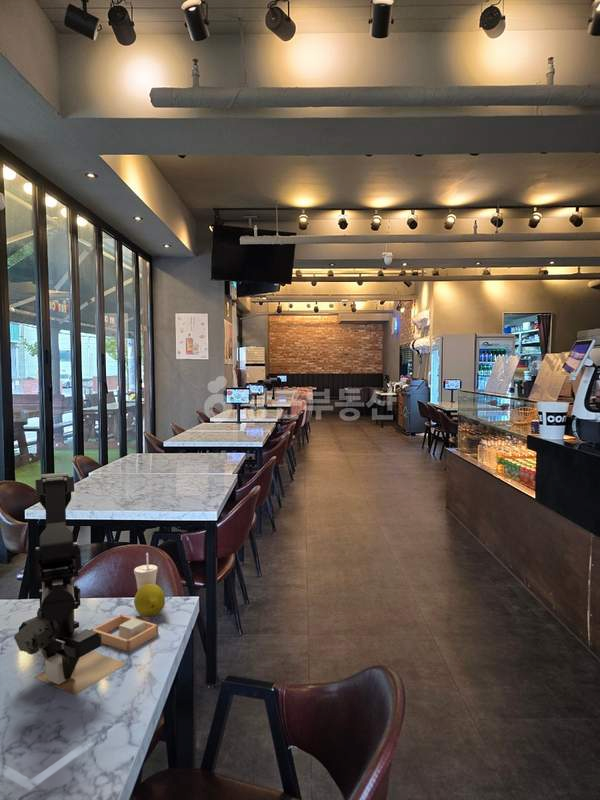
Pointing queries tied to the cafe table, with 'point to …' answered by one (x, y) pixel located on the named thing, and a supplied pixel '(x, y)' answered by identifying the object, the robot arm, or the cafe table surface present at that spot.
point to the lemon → (149, 600)
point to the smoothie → (145, 574)
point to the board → (86, 672)
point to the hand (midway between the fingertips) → (60, 675)
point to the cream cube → (130, 629)
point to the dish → (122, 643)
